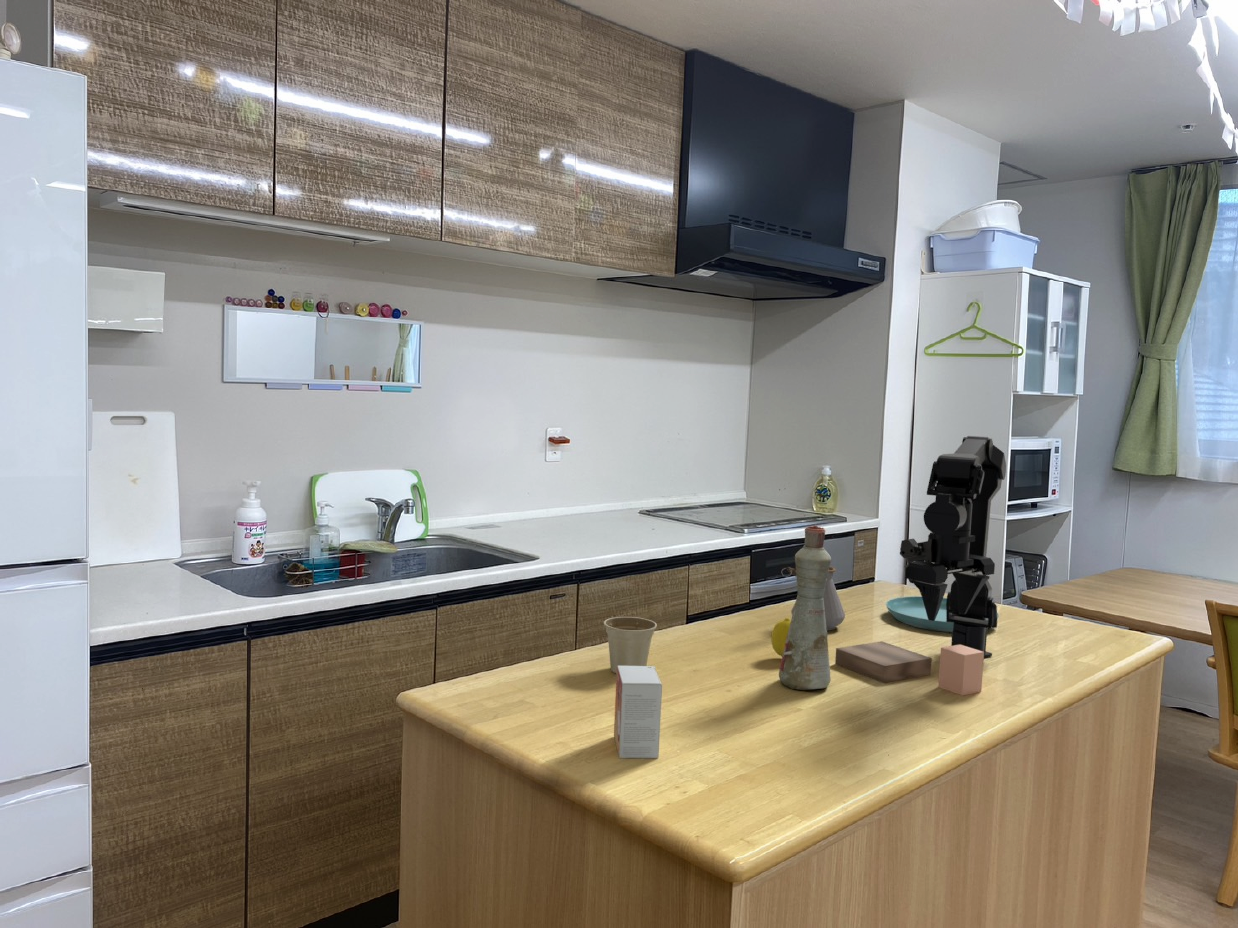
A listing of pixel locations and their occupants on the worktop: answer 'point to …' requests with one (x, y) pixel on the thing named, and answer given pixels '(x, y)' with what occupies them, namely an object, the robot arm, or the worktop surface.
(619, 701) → the small box
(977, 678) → the terracotta block
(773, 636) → the lemon
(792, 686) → the bottle
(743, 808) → the worktop surface
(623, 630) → the flower pot
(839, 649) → the walnut base
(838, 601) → the coffee pot
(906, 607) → the saucer
